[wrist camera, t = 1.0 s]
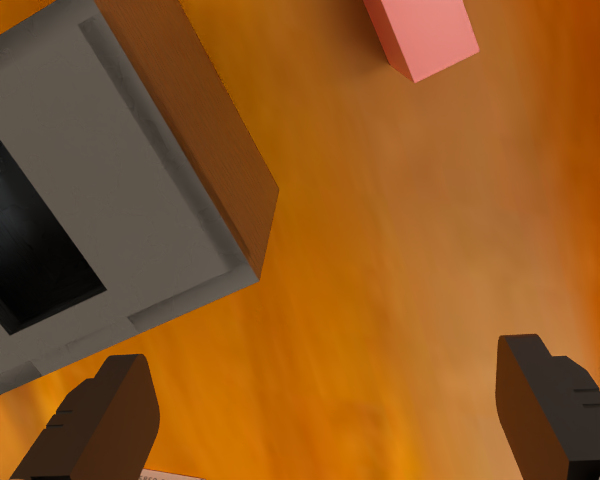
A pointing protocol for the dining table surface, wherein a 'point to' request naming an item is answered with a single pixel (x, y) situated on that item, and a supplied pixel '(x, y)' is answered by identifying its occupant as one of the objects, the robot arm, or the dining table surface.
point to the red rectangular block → (422, 34)
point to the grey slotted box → (117, 182)
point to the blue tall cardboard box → (163, 476)
